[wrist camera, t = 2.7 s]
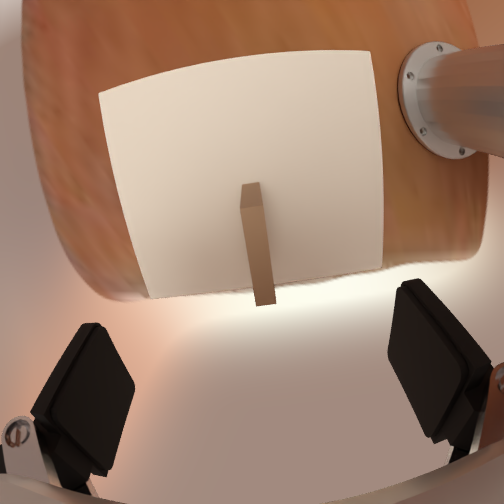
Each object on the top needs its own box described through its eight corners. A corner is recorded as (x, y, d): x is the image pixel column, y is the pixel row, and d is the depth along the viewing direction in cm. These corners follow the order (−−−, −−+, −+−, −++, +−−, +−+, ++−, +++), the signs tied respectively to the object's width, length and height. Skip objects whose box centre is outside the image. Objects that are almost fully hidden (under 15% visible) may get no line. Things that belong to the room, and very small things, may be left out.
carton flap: (102, 93, 15) (52, 89, 10) (366, 53, 14) (409, 32, 9) (152, 294, 21) (129, 345, 16) (378, 264, 20) (412, 308, 15)
